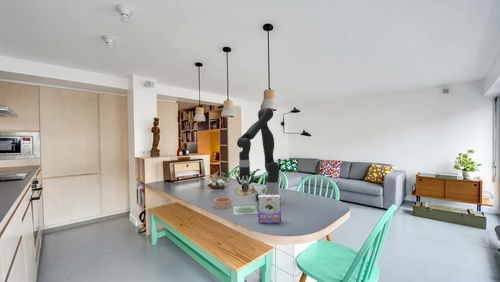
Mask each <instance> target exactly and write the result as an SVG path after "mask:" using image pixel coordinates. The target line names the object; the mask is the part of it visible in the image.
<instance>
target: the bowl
mask: <svg viewBox="0 0 500 282" xmlns="http://www.w3.org/2000/svg"><path fill="white" fill-rule="evenodd" d="M213 201H214V203H213V205H214V208H215V209H216V210H226V209H230V208H232V198H230V197H226V196H225V197H224V196H223V197H217V198H214V200H213Z"/></svg>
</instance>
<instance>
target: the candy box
mask: <svg viewBox="0 0 500 282" xmlns="http://www.w3.org/2000/svg"><path fill="white" fill-rule="evenodd" d="M281 202H282V201H281V195H280V194H279V195H267V194H258V196H257V206H258V207H257V211H258V214H257V216H258V224H282V209H281V204H282V203H281Z"/></svg>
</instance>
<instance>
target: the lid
mask: <svg viewBox="0 0 500 282" xmlns="http://www.w3.org/2000/svg"><path fill="white" fill-rule="evenodd" d="M243 185H244V190H242V186H240V187H237V188H235V189H234V193H235V195H236V196H244V197H247V196H252V195H254V194H256V192H257V190H256V188H254V187H251V186H249V189H248V190H247V182H244V183H243Z"/></svg>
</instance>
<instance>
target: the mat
mask: <svg viewBox="0 0 500 282" xmlns="http://www.w3.org/2000/svg"><path fill="white" fill-rule="evenodd" d="M232 210H233V211H232V212H233V216H236V215H237V216H238V215H239V216H241V215H255V214H257V215H258V208H257V206H256V205H244V206H240V205H239V206H233V207H232Z"/></svg>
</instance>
